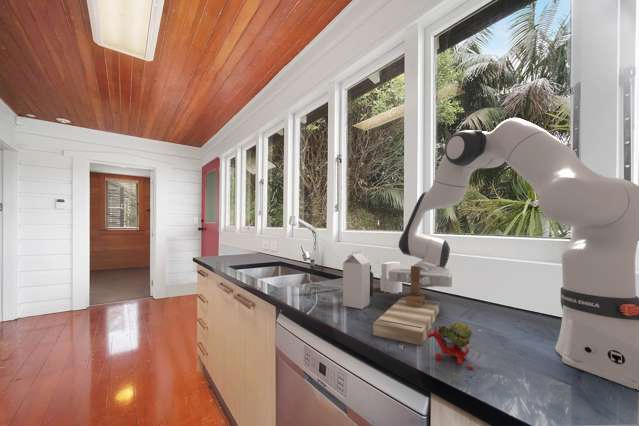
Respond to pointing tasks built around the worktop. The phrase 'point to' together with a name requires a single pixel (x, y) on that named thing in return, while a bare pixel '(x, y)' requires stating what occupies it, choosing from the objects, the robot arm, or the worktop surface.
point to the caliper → (319, 287)
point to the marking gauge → (415, 289)
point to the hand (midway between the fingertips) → (415, 281)
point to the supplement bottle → (371, 282)
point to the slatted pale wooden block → (407, 322)
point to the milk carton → (356, 281)
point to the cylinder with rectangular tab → (384, 278)
